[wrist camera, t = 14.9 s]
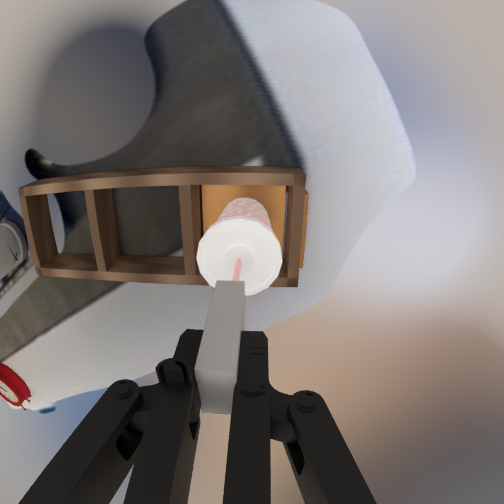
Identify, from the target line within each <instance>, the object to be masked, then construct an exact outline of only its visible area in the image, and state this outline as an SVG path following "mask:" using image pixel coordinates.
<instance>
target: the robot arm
mask: <svg viewBox="0 0 504 504" xmlns="http://www.w3.org/2000/svg"><path fill="white" fill-rule="evenodd" d="M244 326H245V281H225V280H217V281H216V284H215V288H214V292H213V296H212V300H211V304H210V308H209V312H208V316H207V320H206V324H205V328H204V330H195V329H187V330H186V331H185V332H184V333H183V334H182V335H181V336H180V338H179V341H178V345H177V347H176V351H175V354H174V357H173V358H169V359H166V360H163V361H162V362H160V363H159V364H158V365H157V366H156V368H155V369H156V372H157V376H158V379H159V383H158V384H155V385H150V386H143V387H139V386H138V385H137V383H135V382H134V381H132V380H127V379H124V380H119V381H116V382H114V383H113V384H112V385H111V386H110V387H109V388H108V389H107V391H106V392H105V393H104V394H103V395H102V397H101V398H100V399H99V401H98V402H97V403H96V404H95V405H94V407H93V408H92V409H91V410H90V412H89V413H88V414H87V415H86V417H85V418H84V419H83V420H82V422H81V423H80V424H79V426H78V427H77V428H76V429H75V430H74V432H73V433H72V434H71V436H70V437H69V438H68V439H67V441H66V442H65V443H64V444H63V446H62V447H61V448H60V450H59V451H58V452H57V453H56V455H55V456H54V457H53V459H52V460H51V461H50V463H49V464H48V465H47V466H46V468H45V469H44V470H43V472H42V473H41V474H40V476H39V477H38V478H37V480H36V481H35V482H34V484H33V485H32V486H31V487H30V489H29V490H28V492H27V493H26V494H25V495H24V497H23V498H22V500H21V501H20V502H19V504H109V503H110V501H111V500H112V498H113V497H114V495H115V493H116V492H117V490H118V489H119V487H120V485H121V484H122V482H123V481H124V479H125V477H126V476H127V474H128V473H129V471H130V469H131V468H132V466H133V464H134V467H133V471H132V474H131V477H130V481H129V484H128V488H127V492H126V496H125V499H124V503H123V504H187V503H188V496H189V490H190V483H191V477H192V471H193V464H194V459H195V452H196V446H197V440H198V434H199V428H200V417H199V414H200V409H201V410H202V412H203V413H216V414H231V422H230V432H229V442H228V454H227V464H226V474H225V484H224V495H223V504H271V495H270V494H271V489H270V488H271V476H270V473H271V471H270V439H274V440H277V441H281V442H283V445H284V447H285V450H286V453H287V456H288V458H289V461H290V464H291V467H292V470H293V472H294V475H295V478H296V481H297V483H298V486H299V489H300V491H301V494H302V497H303V499H304V502H305V504H377V503H376V501H375V500H374V497H373V496H372V494H371V492H370V490H369V488H368V486H367V484H366V482H365V480H364V478H363V476H362V474H361V472H360V470H359V468H358V466H357V465H356V462H355V460H354V458H353V456H352V454H351V452H350V451H349V448H348V447H347V445H346V443H345V441H344V439H343V437H342V435H341V433H340V431H339V429H338V427H337V425H336V423H335V421H334V419H333V417H332V415H331V413H330V411H329V409H328V407H327V405H326V403H325V401H324V399H323V398H322V397H321V396H320V395H319V394H317V393H316V392H313V391H309V390H305V391H299V392H296V393H294V394H293V395H288V394H284V393H281V392H279V391H277V390H275V389H274V388H273V387H272V386H271V384H270V383H269V376H268V338H267V337H266V335H265V334H264V332H263V331H244Z"/></svg>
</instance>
